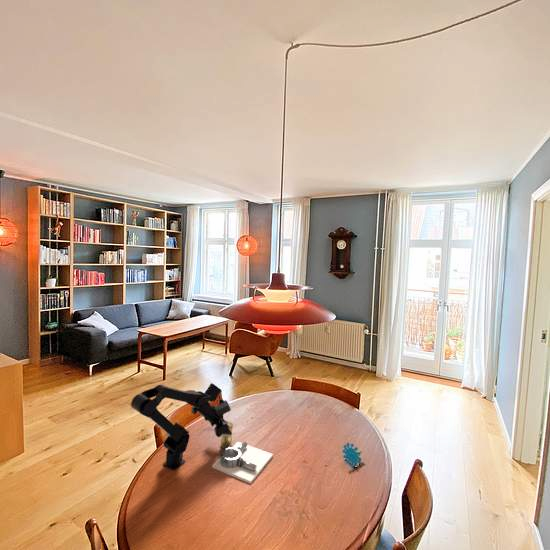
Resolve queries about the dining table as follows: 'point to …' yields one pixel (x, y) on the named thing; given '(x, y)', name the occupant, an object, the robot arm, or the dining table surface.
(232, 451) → the steel cradle
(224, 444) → the cylinder
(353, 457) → the gear
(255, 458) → the mounting plate
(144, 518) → the dining table surface
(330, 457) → the dining table surface
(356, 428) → the dining table surface
